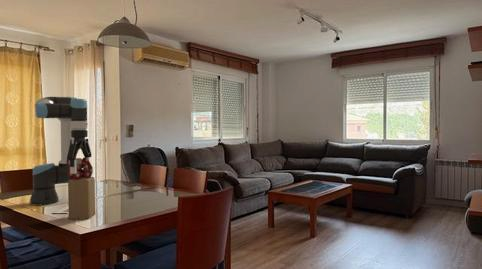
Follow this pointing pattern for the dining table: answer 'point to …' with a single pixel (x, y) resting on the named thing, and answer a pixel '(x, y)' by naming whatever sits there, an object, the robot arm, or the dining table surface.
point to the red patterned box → (81, 168)
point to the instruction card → (63, 210)
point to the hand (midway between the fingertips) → (80, 171)
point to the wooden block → (81, 198)
